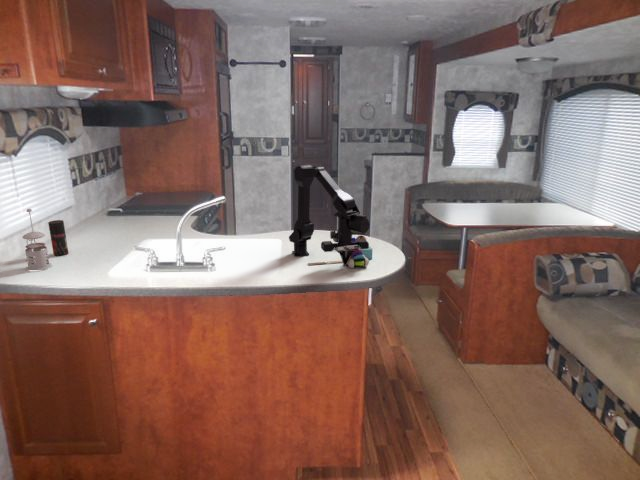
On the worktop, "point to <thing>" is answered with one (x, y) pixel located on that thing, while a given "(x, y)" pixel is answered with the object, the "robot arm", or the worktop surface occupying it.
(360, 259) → the multicolored white-lobed toy
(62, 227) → the deodorant
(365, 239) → the figurine character
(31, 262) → the french press
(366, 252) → the teal cube
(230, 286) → the worktop surface
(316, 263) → the brown segmented strip
